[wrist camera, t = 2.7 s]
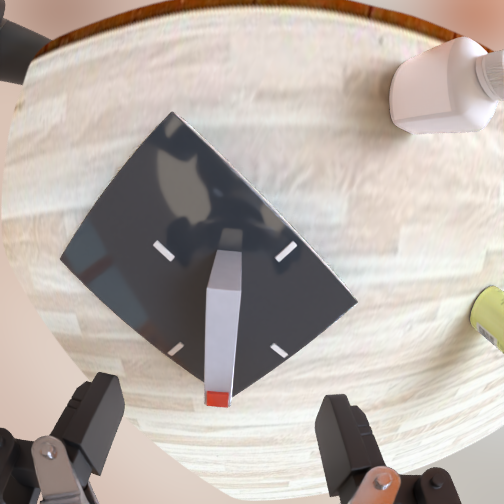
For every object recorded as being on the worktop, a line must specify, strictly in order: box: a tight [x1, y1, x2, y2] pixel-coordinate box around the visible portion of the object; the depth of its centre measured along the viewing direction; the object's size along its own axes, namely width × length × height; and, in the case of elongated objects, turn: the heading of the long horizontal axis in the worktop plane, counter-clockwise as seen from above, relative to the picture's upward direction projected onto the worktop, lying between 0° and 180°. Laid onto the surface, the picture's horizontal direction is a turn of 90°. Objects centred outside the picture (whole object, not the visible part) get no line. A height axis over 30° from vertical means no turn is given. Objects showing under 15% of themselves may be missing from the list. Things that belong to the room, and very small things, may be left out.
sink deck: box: [60, 112, 358, 397], centre depth 18 cm, size 16×12×3 cm
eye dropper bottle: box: [389, 37, 504, 134], centre depth 10 cm, size 4×6×12 cm
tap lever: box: [204, 250, 242, 408], centre depth 15 cm, size 7×1×5 cm, turn 174°
